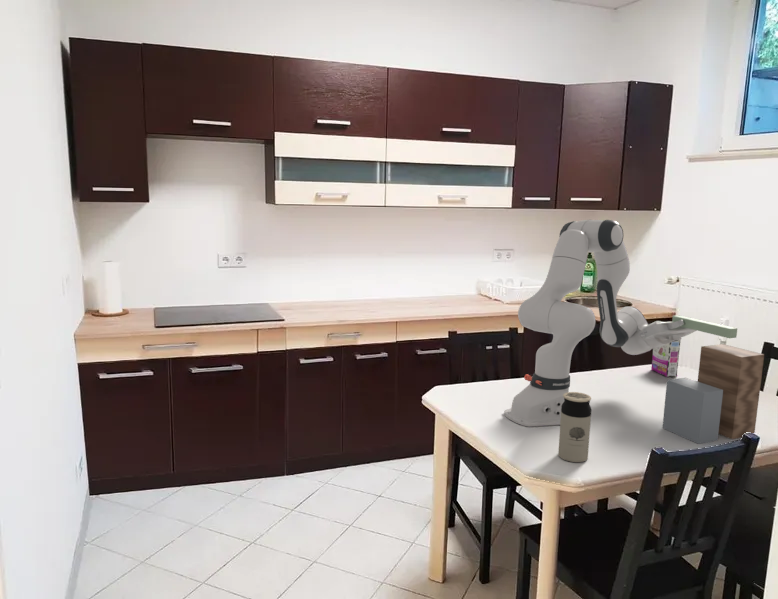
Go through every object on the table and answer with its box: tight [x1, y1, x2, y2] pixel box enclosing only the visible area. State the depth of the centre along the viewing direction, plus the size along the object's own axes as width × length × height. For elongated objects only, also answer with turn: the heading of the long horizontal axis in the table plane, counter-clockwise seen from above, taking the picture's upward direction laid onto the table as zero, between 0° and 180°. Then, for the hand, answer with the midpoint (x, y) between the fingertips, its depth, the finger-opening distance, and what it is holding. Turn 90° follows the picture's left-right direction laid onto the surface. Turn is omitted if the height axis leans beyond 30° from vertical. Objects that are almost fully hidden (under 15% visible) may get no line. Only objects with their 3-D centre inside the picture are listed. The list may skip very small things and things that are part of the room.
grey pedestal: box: [661, 377, 723, 445], centre depth 184 cm, size 8×14×16 cm, turn 23°
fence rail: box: [671, 315, 738, 339], centre depth 195 cm, size 3×22×3 cm, turn 22°
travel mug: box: [557, 391, 592, 463], centre depth 165 cm, size 8×8×18 cm
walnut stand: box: [697, 343, 765, 440], centre depth 188 cm, size 10×14×26 cm
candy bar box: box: [650, 340, 681, 378], centre depth 250 cm, size 11×5×16 cm, turn 10°
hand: (688, 321), depth 200 cm, fingers closed on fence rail, 3 cm apart
